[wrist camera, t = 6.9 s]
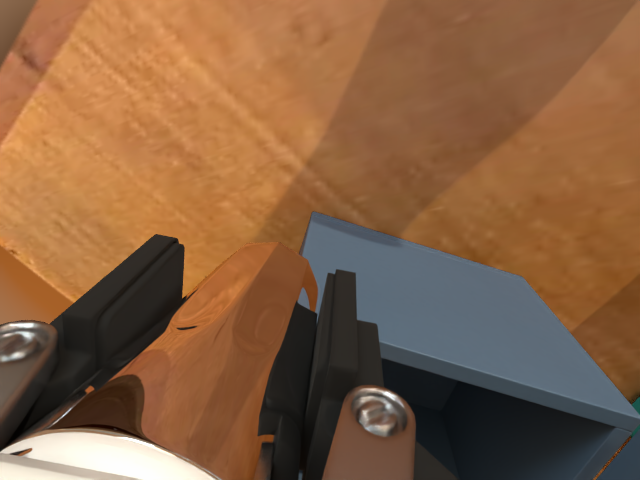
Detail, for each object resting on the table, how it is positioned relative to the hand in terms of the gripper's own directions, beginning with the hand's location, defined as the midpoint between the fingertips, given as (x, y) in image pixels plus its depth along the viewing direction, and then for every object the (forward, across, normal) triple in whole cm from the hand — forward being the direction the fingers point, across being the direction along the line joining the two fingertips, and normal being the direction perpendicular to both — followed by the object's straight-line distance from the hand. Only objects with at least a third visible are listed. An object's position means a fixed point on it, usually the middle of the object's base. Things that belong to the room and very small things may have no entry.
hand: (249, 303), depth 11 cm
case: (+17, -8, +11) cm, 21 cm away
